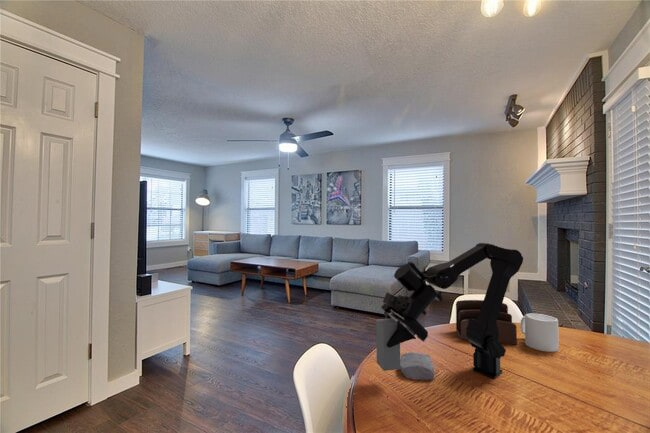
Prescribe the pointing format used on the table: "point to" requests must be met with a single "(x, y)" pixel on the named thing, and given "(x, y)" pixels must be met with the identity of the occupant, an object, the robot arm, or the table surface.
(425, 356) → the stone block
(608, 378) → the table surface
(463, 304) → the letter holder
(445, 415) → the table surface
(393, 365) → the pillar
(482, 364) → the robot arm
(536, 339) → the mug
